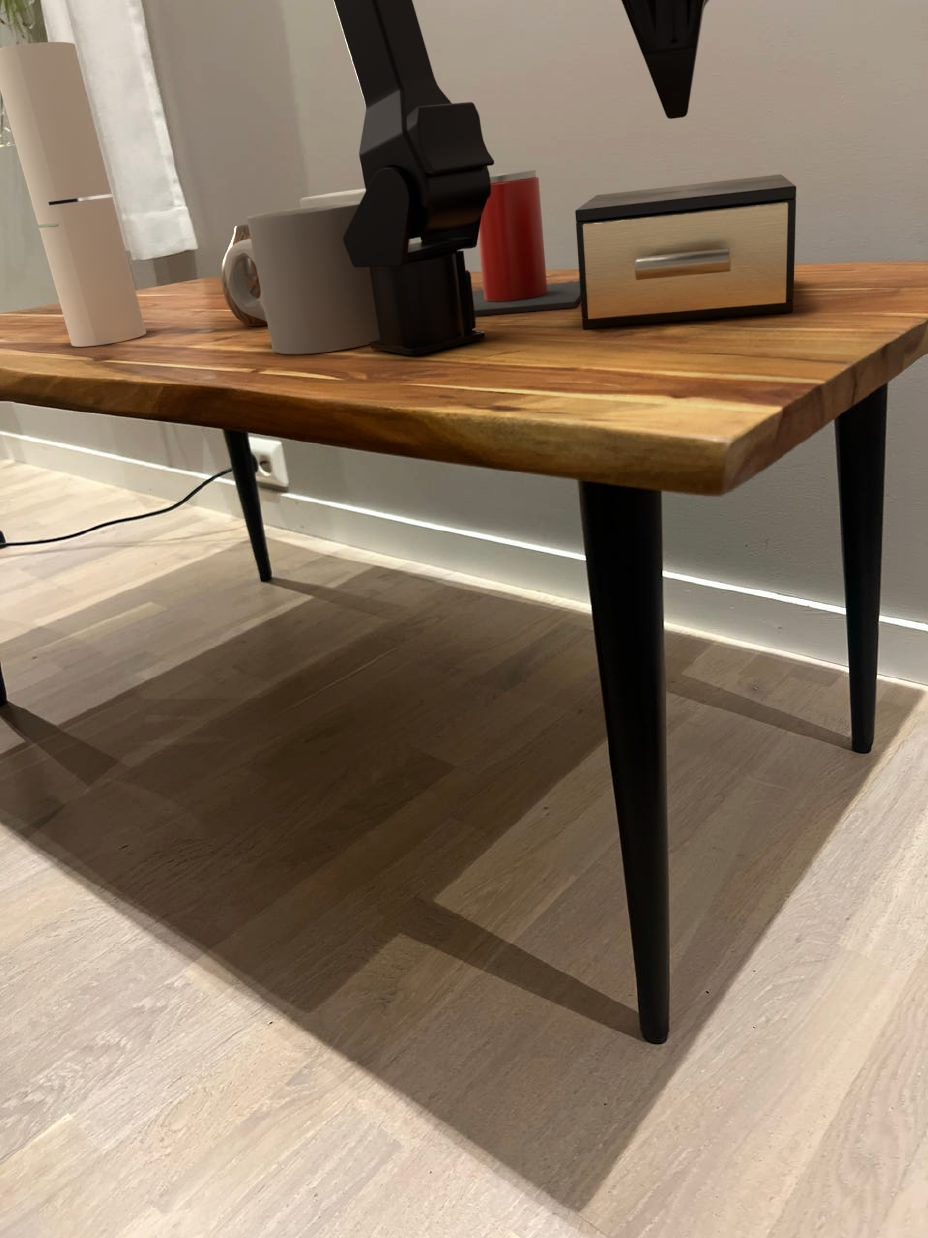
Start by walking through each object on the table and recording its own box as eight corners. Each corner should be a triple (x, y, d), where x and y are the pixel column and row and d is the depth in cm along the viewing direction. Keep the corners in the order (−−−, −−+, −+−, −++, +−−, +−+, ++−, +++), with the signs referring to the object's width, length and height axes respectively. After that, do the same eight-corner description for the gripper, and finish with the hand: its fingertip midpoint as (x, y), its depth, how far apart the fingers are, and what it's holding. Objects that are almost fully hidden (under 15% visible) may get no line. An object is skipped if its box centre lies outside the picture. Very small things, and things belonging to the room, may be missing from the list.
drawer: (790, 313, 64) (792, 208, 61) (581, 330, 67) (575, 230, 64) (774, 274, 79) (775, 189, 76) (605, 289, 82) (600, 208, 79)
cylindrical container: (132, 341, 94) (56, 38, 83) (60, 349, 95) (-26, 50, 84) (155, 328, 100) (87, 46, 90) (87, 336, 101) (11, 56, 90)
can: (510, 303, 84) (498, 175, 80) (472, 300, 89) (458, 178, 84) (560, 291, 87) (551, 167, 83) (520, 289, 91) (510, 171, 87)
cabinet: (793, 312, 69) (796, 185, 65) (582, 329, 72) (574, 209, 69) (779, 281, 81) (781, 173, 78) (601, 297, 85) (595, 195, 81)
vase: (264, 329, 91) (244, 227, 87) (215, 329, 95) (194, 231, 91) (317, 315, 95) (300, 217, 92) (269, 315, 99) (251, 221, 96)
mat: (575, 307, 81) (575, 301, 81) (435, 319, 84) (434, 313, 84) (590, 285, 92) (590, 279, 92) (465, 296, 95) (464, 291, 95)
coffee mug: (417, 327, 82) (399, 196, 77) (346, 353, 74) (322, 210, 70) (292, 330, 88) (269, 209, 84) (215, 355, 81) (186, 224, 77)
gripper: (871, -354, 39) (851, 94, 45) (823, -216, 55) (813, 100, 62) (586, -288, 41) (607, 126, 48) (620, -174, 58) (632, 123, 64)
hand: (677, 117), depth 55 cm, fingers closed
